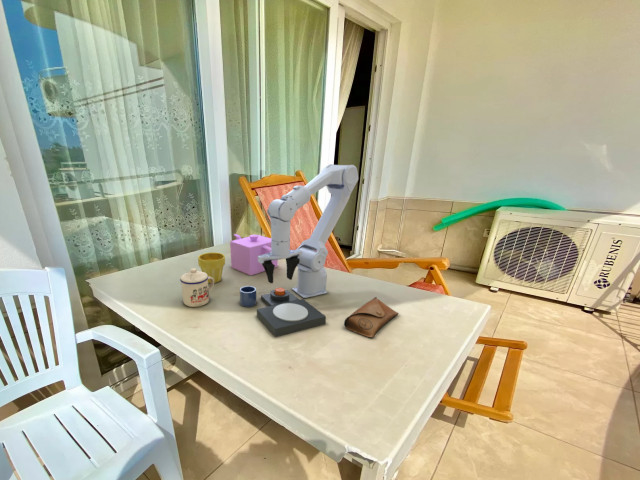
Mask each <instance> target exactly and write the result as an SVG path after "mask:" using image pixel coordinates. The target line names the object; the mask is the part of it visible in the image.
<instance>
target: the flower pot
mask: <svg viewBox="0 0 640 480" xmlns="http://www.w3.org/2000/svg"><path fill="white" fill-rule="evenodd" d="M197 262H198V267H199V268H200V270H201V271H200V272H204V273H206V274H207V275H208V277H212V278H213V279H214V284H216V283H219V282H221V281H222V276H223V270H224V266H225V265H226V255H225V254H224V253H221V252H213V251H211V252H204V253H201V254H199V255H198V256H197ZM208 284H211V279H208Z"/></svg>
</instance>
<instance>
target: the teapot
mask: <svg viewBox="0 0 640 480" xmlns="http://www.w3.org/2000/svg"><path fill="white" fill-rule="evenodd" d="M233 236H234V237H235V238H236V239H233V240H230V241H229V244H230V245H229V246H230V265H231V268H232V269H234V270H236V271H239V272H241V273H244V274H246V275H248V276H253V275H257V274H259V273H263V272H266V271H265V269H264V267H263V265H262V263H259V262H258V256H260V255H264V254H267V253H270V252H271V237H267V236H265V235H264V236H263V235H260V234H250V235H249V236H245V237H241V235H239V234H237V233H234V234H233ZM278 263H279V260H274V261H272V264H274V265H275V267H274V269H275V268H277V267H279V265H278Z"/></svg>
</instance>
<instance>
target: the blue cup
mask: <svg viewBox="0 0 640 480" xmlns="http://www.w3.org/2000/svg"><path fill="white" fill-rule="evenodd" d="M239 304H240V306H242V307H244V308H252V307H254V306H256V305H257V288H256V287H255V286H252V285H244V286H241V287H240V288H239Z"/></svg>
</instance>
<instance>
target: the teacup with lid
mask: <svg viewBox="0 0 640 480" xmlns="http://www.w3.org/2000/svg"><path fill="white" fill-rule="evenodd" d="M208 279H211V283H210V284H209V283H208ZM179 281H180V283H181V284H180V285H181V293H182V301H183V304H184V305H185V306H187V307H190V308H198V307H202V306H204V305H207V304H208V303H209V301H210V291H211V290H212V289H213V288H214V286H215V283H214V279H213V278H212V277H208V275H207V274H206V273H204V272H202V271H200V270H197V268H195V267H194V268H193V267H192V268H191V269H190V271H188V272H186V273H183V274H182V275H180V279H179Z"/></svg>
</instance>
